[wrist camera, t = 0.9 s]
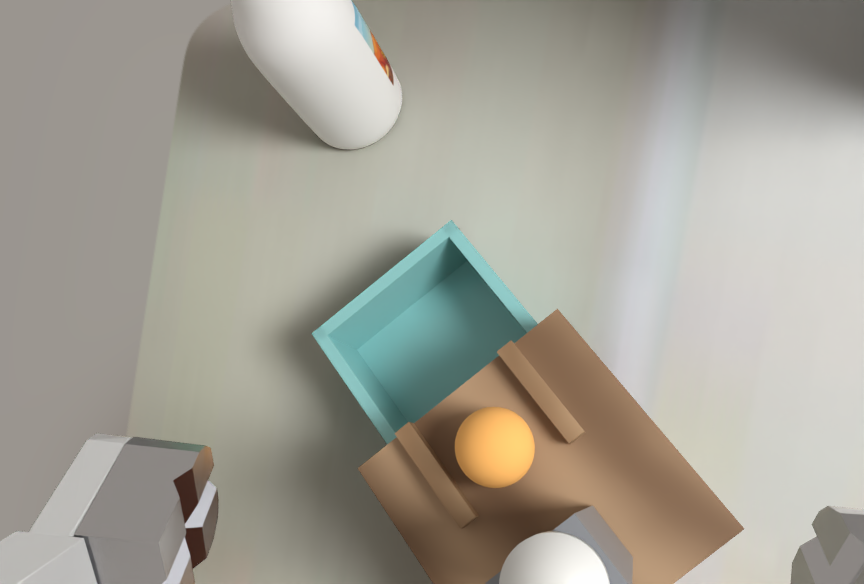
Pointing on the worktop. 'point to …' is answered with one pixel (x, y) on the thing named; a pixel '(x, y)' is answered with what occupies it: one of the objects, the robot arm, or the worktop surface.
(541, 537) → the dome-capped grey pillar
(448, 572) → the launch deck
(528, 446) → the ball
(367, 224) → the worktop surface
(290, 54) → the milk bottle
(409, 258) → the teal open tray
